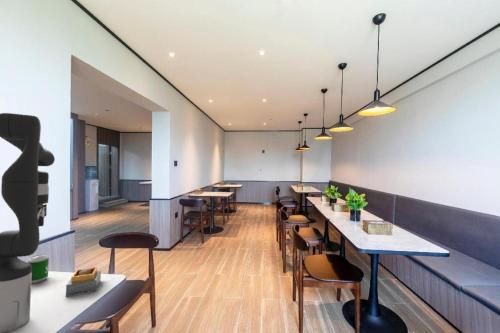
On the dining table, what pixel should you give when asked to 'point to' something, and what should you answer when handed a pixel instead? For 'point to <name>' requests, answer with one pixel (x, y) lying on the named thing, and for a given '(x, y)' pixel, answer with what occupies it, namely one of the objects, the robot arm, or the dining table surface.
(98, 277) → the box
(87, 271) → the walnut plug
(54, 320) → the dining table surface
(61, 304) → the dining table surface
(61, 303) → the dining table surface
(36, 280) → the soda can
